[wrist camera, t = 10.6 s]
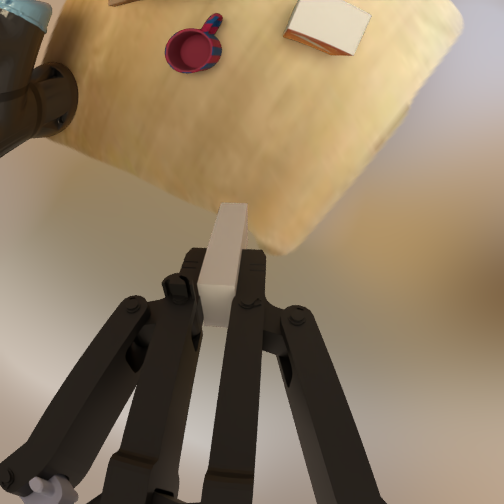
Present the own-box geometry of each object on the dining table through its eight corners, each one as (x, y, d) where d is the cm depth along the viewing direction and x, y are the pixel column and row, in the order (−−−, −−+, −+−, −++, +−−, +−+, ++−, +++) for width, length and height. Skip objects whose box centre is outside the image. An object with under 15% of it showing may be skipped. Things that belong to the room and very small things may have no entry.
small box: (281, 37, 34) (285, 28, 24) (295, 3, 30) (304, -16, 20) (332, 56, 35) (354, 57, 25) (346, 24, 31) (373, 14, 21)
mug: (171, 56, 36) (155, 57, 31) (211, 9, 31) (201, 2, 26) (203, 78, 39) (192, 82, 34) (245, 32, 34) (240, 28, 29)
